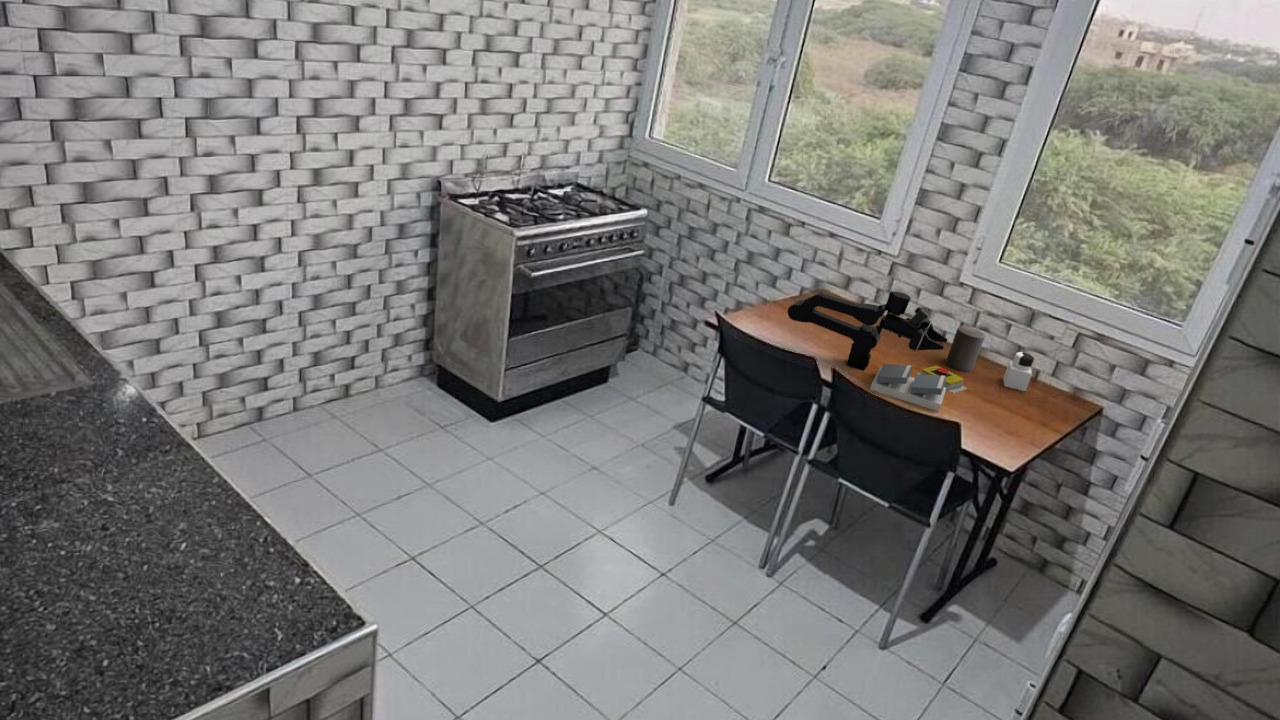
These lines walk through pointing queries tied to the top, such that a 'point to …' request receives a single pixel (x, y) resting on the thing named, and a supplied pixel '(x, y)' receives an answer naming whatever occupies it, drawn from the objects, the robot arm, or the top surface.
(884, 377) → the block
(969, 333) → the pillar candle
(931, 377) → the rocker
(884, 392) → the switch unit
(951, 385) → the emergency button
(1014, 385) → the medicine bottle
